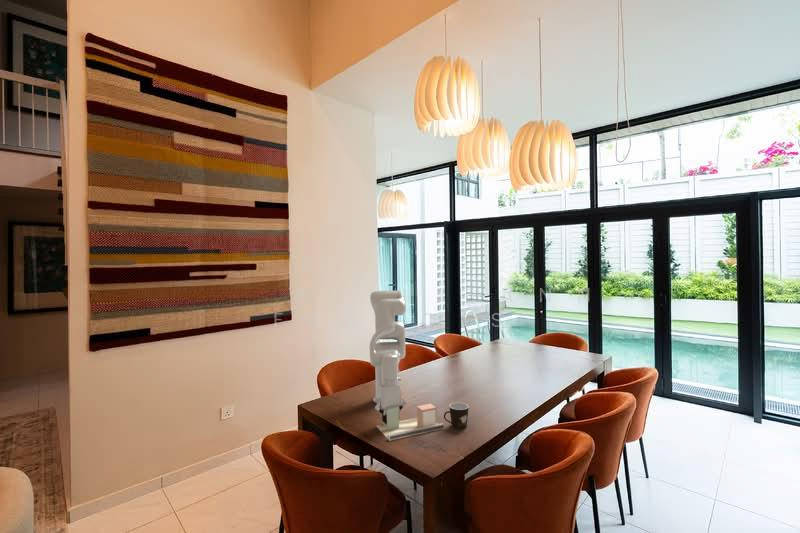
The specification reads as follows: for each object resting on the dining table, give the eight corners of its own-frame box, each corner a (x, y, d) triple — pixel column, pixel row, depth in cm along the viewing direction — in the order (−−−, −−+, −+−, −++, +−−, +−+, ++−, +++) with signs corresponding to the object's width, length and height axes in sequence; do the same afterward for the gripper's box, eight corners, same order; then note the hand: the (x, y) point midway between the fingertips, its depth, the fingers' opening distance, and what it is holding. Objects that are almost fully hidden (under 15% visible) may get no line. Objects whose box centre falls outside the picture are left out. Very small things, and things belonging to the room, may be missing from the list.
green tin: (382, 423, 172) (382, 404, 172) (393, 421, 174) (392, 402, 174) (388, 429, 166) (388, 409, 166) (399, 427, 168) (398, 407, 168)
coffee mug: (466, 424, 173) (466, 402, 173) (471, 432, 164) (470, 409, 164) (441, 424, 172) (441, 403, 172) (444, 433, 164) (444, 410, 164)
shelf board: (376, 428, 170) (376, 421, 170) (427, 417, 180) (427, 411, 180) (389, 443, 155) (389, 435, 155) (444, 431, 166) (444, 424, 166)
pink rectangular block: (422, 430, 164) (422, 410, 164) (417, 426, 169) (416, 406, 169) (436, 427, 167) (436, 407, 167) (431, 423, 172) (430, 403, 172)
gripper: (404, 376, 177) (404, 415, 177) (369, 381, 170) (370, 422, 170) (410, 381, 170) (411, 421, 170) (375, 386, 163) (375, 428, 163)
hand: (390, 421), depth 170 cm, fingers closed on green tin, 5 cm apart
